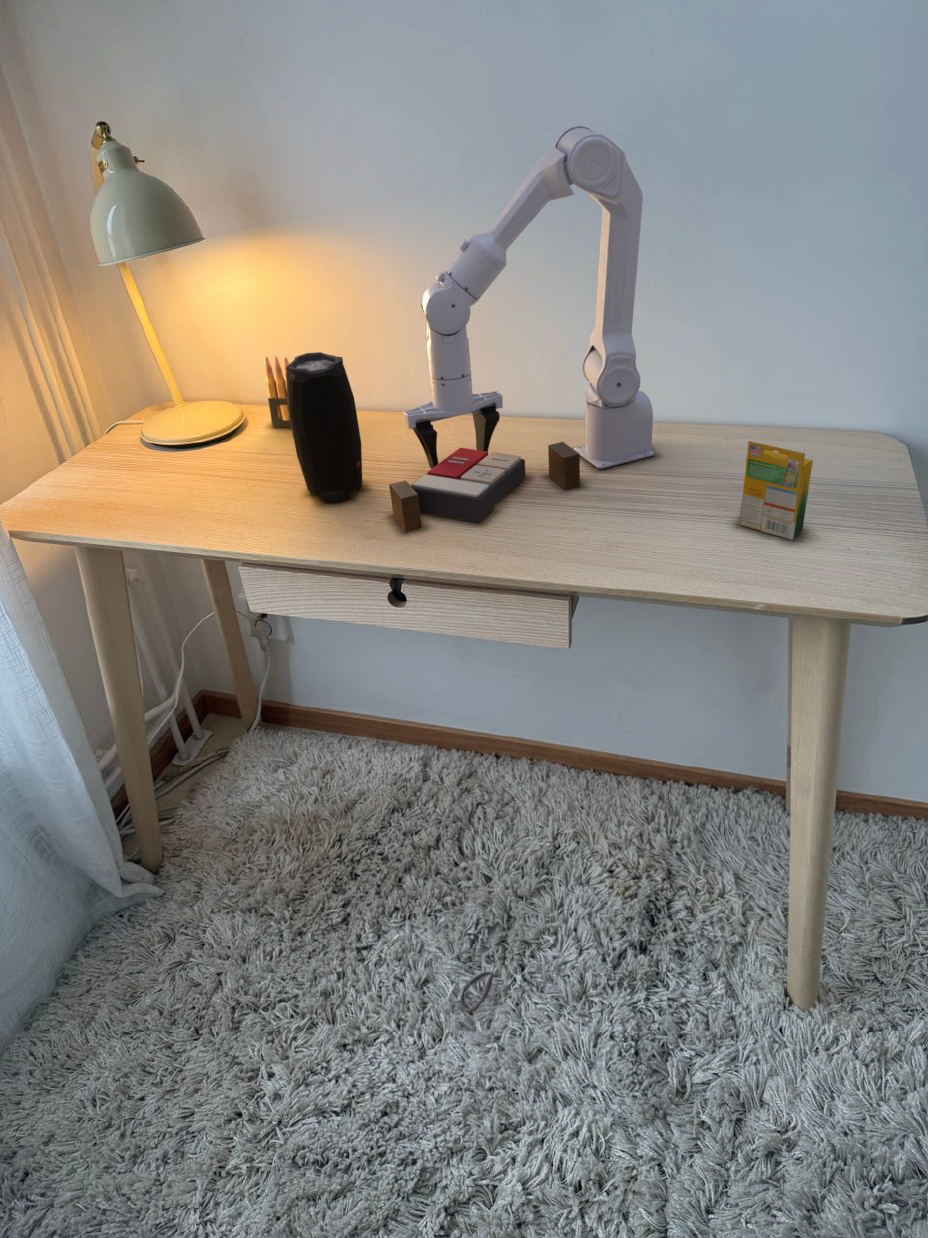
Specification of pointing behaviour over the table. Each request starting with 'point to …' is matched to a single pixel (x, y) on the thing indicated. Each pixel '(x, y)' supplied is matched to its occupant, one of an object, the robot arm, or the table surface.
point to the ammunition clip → (277, 393)
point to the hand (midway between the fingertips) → (458, 462)
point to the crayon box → (775, 490)
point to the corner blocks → (560, 470)
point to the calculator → (468, 484)
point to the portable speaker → (324, 425)
